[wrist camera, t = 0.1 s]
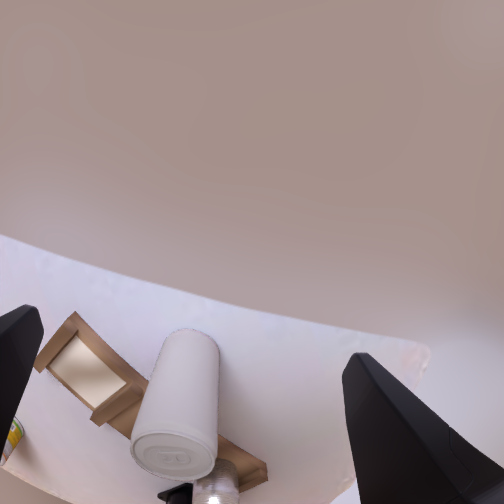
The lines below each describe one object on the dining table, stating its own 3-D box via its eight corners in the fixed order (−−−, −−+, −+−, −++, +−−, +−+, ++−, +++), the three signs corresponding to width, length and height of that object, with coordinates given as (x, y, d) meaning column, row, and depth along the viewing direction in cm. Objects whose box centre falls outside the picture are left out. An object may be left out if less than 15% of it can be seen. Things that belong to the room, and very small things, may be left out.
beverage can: (157, 327, 24) (114, 428, 12) (215, 322, 24) (208, 429, 12) (169, 374, 25) (143, 480, 13) (223, 371, 25) (224, 481, 13)
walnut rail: (265, 463, 28) (268, 480, 26) (222, 484, 29) (222, 500, 26) (75, 311, 23) (61, 323, 20) (42, 350, 23) (30, 363, 21)
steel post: (216, 483, 27) (216, 531, 20) (185, 467, 26) (181, 517, 19) (246, 470, 26) (250, 520, 20) (215, 452, 25) (215, 506, 19)
